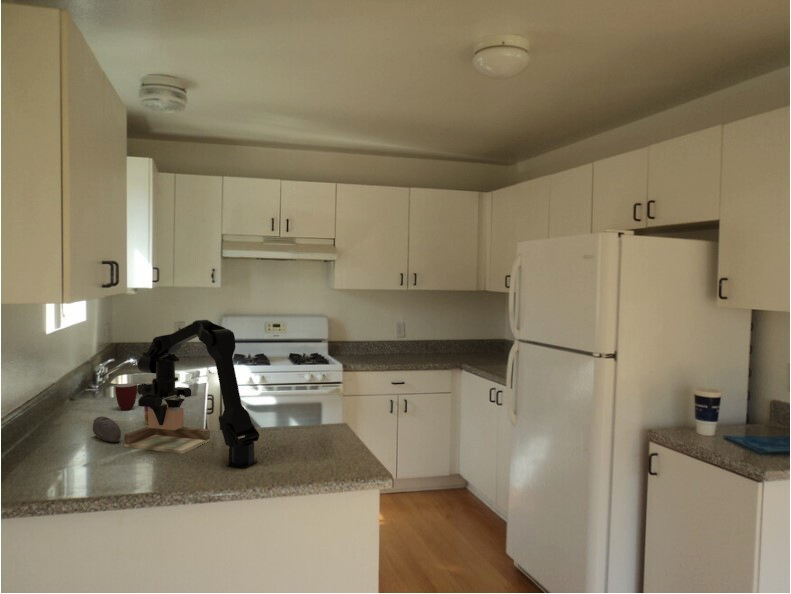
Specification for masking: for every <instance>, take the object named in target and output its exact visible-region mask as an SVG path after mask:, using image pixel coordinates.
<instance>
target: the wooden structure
mask: <svg viewBox="0 0 791 594" xmlns="http://www.w3.org/2000/svg"><path fill="white" fill-rule="evenodd" d="M210 431H211V430H210V429H208V428H207V429H206V428H197V427H186V426H184V427H182V428H179V429H176V430H167V429H157V428H148V426H144V427H143V428H140V429H139V428H138V429H137V430H133V431H130V432H128V433H125V434H124V435H123V437H124V446H123V447H124V448H128V449H129V448H130V449H138V450H149V451H156V452H164V453H165V452H166V453H174V454H185V453H187V452H190V451H192V450H194V449H196V448H198V446H199V447H200V445H201V446H202V444H203V445H205V444H207V442H208V443H210V442H211V436H210V435H211V432H210ZM209 441H210V442H209ZM204 443H205V444H204Z"/></svg>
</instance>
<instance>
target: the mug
mask: <svg viewBox="0 0 791 594" xmlns="http://www.w3.org/2000/svg"><path fill="white" fill-rule="evenodd" d="M114 387H115V388H114V389H115V391H114V392H115V396H116V398H115V399H116V401H117V405H118V407H119V409H120V410H121V411H126V412H127V411H131V410H133V408H134V406H135V404H136V400H137V394H138V391H137V389H138V384H137V383H120V384H116V385H115V386H114Z"/></svg>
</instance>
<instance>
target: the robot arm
mask: <svg viewBox="0 0 791 594" xmlns="http://www.w3.org/2000/svg"><path fill="white" fill-rule="evenodd" d="M197 337H198V340H199V341H200V342H201V343H203V344H204V345H205V348H206V350H207V351H206V352H207V353H208V355H209V356H210V357H211V358H212V359H213V361H214V362H215V367H216V373H217V378H218V382H219V389H220V392H221V397H222V398H221V399H222V402H223V413H222V415H219V416H218V422H219V425H220V428H219V430H220V431H221V433H222V436H223V439H224V444H225V446H226V447H228V463H227V464H226V466H227V467H234V468H243V469H247V468H249V467H251V466H252V465H254V464H255V463H257V462H258V460H257V459H255V442H258V441H259V440H260V439H259V438H260V433H259V431H258V429H256V427H255V426H254V424H253V422H252V419H251V416H250V414H249V412H248V411H247V409H246V408H245V407H244V406H243V403H242V401H241V395H240V391H239V385H238V379H237V376H236V370H235V363H234V360H233V356H234V353H235V350H236V337H235V333H234V332H233V331H232V330H231V329H229V328H226V327H224V326H222V325H219V324H216V323H213V322H212V321H210V320H209V319H199V320H198V319H197V320H194V321H192V323H189V324H188V325H186V326H184V327H182V328H180V329H179V330H176V331H174V332H172V333H170V334H165V335H163V334H162V335H158V336H155V337H154V338H152V342H151V343H150V346H149V348H148V350H147V351H143V352H142V356H141V357H140V358H139V360H137V368H138V370H139V371H140V372H142V373H146V374H153V375H155V378H153V379H152V381H151V382H152V384H150V385H146V384H145V383H146V382H144V383H140V384H137V394H138V395H140V397H139V399H137V402H138V403H137V404H138V407H150V408H151V409H152V410H153V411H154V413H155V415H156V418H157V420H158V423H159V425H163V423H164V419H165V414H166V409H167V404H168V407H174V408H177V407H179V408H181V406H182V404H183V402H184V401H185V399H186V398H189V397H192V390H191V388H190V387H187V386H186V387H183V386H177V387H176V381H179V377H176V363H177V362H179V361H180V358H179V357H178V356H176V354H175V353H176V352H177V351H179V350H180V349H181V348H182V346H183V345H184V344H185V343H188V342H190V341H192V340H193V339H195V338H197ZM154 395H157V396H154ZM163 397H164V398H163ZM182 397H184V398H182ZM164 400H165V401H166V403H167V404H164Z"/></svg>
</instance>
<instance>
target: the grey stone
mask: <svg viewBox="0 0 791 594" xmlns="http://www.w3.org/2000/svg"><path fill="white" fill-rule="evenodd" d="M92 432H93V434H94V435H95V436H96V437H98V439H100V440H104V441H107V442H111V443H116V442H119V440H120V439H121V436H122V430H121V428H120V425H118V423H116V422H115V421H114V419H112V418H110V417H107V416H97V417H96V418H95V419H94V420H93V424H92Z"/></svg>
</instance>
